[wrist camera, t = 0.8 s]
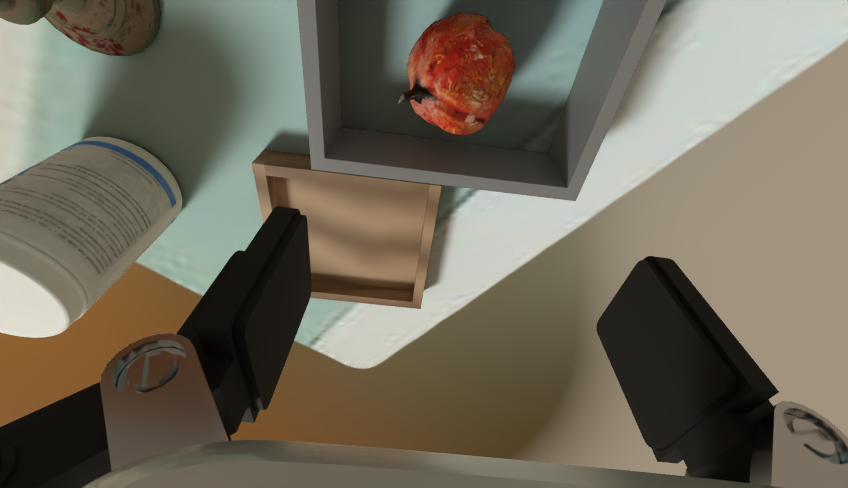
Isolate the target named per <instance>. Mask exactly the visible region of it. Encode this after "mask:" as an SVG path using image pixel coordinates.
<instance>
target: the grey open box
mask: <svg viewBox="0 0 848 488" xmlns="http://www.w3.org/2000/svg"><path fill="white" fill-rule="evenodd" d="M666 1H667V0H604V1H603V3H602V6H601V9H600V12H599V14H598V17H597V20H596V23H595V25H594V28H593V31H592V34H591V36H590V39H589V42H588V45H587V48H586V50H585V53H584V56H583V59H582V61H581V64H580V67H579V70H578V72H577V75H576V78H575V81H574V83H573V86H572V89H571V92H570V95H569V97H568V100H567V103H566V106H565V108H564V111H563V114H562V117H561V119H560V122H559V125H558V128H557V130H556V133H555V136H554V139H553V142H552V144H551V147H550V150H549V153H540V152H532V151H524V150H516V149H508V148H500V147H493V146H485V145H477V144H469V143H461V142H453V141H445V140H438V139H430V138H422V137H414V136H406V135H398V134H390V133H382V132H375V131H367V130H359V129H351V128H343V127H342V120H341V80H340V40H339V0H297V6H298V18H299V30H300V41H301V53H302V65H303V76H304V88H305V100H306V112H307V123H308V135H309V147H310V158H311V169H313V170H322V171H330V172H338V173H347V174H355V175H363V176H371V177H380V178H388V179H396V180H405V181H413V182H421V183H430V184H438V185H446V186H455V187H463V188H471V189H480V190H488V191H496V192H504V193H513V194H521V195H529V196H538V197H546V198H554V199H563V200H571V201H576V199H577V197H578V195H579V192H580V190H581V188H582V186H583V184H584V181H585V179H586V177H587V175H588V173H589V170H590V168H591V166H592V164H593V162H594V159H595V157H596V155H597V153H598V151H599V148H600V146H601V144H602V142H603V139H604V137H605V135H606V133H607V131H608V128H609V126H610V124H611V122H612V120H613V117H614V115H615V113H616V111H617V109H618V106H619V104H620V102H621V100H622V98H623V95H624V93H625V91H626V89H627V87H628V84H629V82H630V80H631V78H632V76H633V73H634V71H635V69H636V67H637V65H638V62H639V60H640V58H641V56H642V54H643V51H644V49H645V47H646V45H647V43H648V40H649V38H650V36H651V34H652V32H653V29H654V27H655V25H656V23H657V21H658V18H659V16H660V14H661V12H662V9H663V7H664V5H665V3H666Z"/></svg>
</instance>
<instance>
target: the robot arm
mask: <svg viewBox="0 0 848 488" xmlns="http://www.w3.org/2000/svg"><path fill="white" fill-rule="evenodd" d="M311 291H312V281H311V267H310V253H309V238H308V224H307V217H306V215H301V214H300V211H299V209H296V208H289V207H281V206H276V207H275V208H274V209H273V210H272V212H271V213H270V215H269V216H268V218H267V219H266V221H265V222H264V224H263V225H262V227H261V228H260V230H259V231H258V233H257V234H256V236H255V237H254V238H253V240H252V241H251V243H250V244H249V246H248V247H247V249H246V250H245V251H237V252H235V253H234V254H233V255H232V256H231V258H230V259H229V261H228V262H227V263H226V265H225V266H224V268H223V269H222V271H221V272H220V273H219V275H218V276H217V278H216V279H215V280H214V282H213V283H212V285H211V286H210V287H209V289H208V290H207V292H206V293H205V294H204V296H203V297H202V299H201V300H200V302H199V303H198V305H197V306H196V307H195V309H194V310H193V312H192V313H191V315H190V316H189V317H188V318H187V320H186V321H185V323H184V324H183V326H182V327H181V328H180V330H179V331H178V333H177V334H172V333H167V334H156V335H152V336H148V337H144V338H142V339H140V340H137V341H135V342H133V343H131V344H129V345H128V346H126V347H125V348H123V349H122V350H121V351H119V352H118V353H117V354H116V355H115V356H114V357H113V358H112V359H111V360H110V361H109V362H108V363H107V365H106V367H105V369H104V370H103V372H102V374H101V381H100V382H99V383H97V384H94V385H93V386H90V387H88V388H86V389H83V390H81V391H79V392H77V393H75V394H73V395H70V396H68V397H66V398H64V399H61V400H59V401H57V402H55V403H53V404H50V405H48V406H46V407H44V408H42V409H39V410H37V411H35V412H33V413H30V414H28V415H26V416H24V417H22V418H19V419H17V420H15V421H13V422H11V423H9V424H6V425H4V426H2V427H0V488H848V438H847V437H846V436H845V435H844V434H843V433H842V432H841V431H840V430H839V429H838V428H837V427H836V426H835V425H833V424H832V423H831V422H830V421H828V420H827V419H826V418H824V417H823V416H821V415H820V414H818V413H817V412H815V411H814V410H812V409H810V408H807V407H805V406H803V405H801V404H798V403H794V402H785V401H782V402H780V403H778V404H776V405H775V406H773V405H772V404H771V403H770V402H769V400H768V399H769V398H771V397H772V396H774V395H775V394H777V393H778V392H779V391H778V390H777V389H776V388H775V386H774V385H773V384H772V383H771V381H770V380H769V379H768V378H767V376H766V375H765V374H764V373H763V372H762V370H761V369H760V368H759V366H758V365H757V364H756V363H755V361H754V360H753V359H752V358H751V356H750V355H749V354H748V353H747V351H746V350H745V349H744V348H743V346H742V345H741V344H740V343H739V341H738V340H737V339H736V338H735V337H734V335H733V334H732V333H731V332H730V330H729V329H728V328H727V327H726V325H725V324H724V323H723V322H722V320H721V319H720V318H719V317H718V315H717V314H716V313H715V312H714V310H713V309H712V308H711V307H710V306H709V304H708V303H707V302H706V300H705V299H704V298H703V297H702V295H701V294H700V293H699V292H698V290H697V289H696V288H695V287H694V286H693V284H692V283H691V282H690V280H689V279H688V278H687V277H686V276H685V274H684V273H683V272H682V270H681V269H680V268H679V267H678V265H677V264H676V263H675V262H674V261H673V260H671V259H668V258H660V257H653V256H648V257H646V258H644V259H643V260H641V261H639V262H638V263H637V264H636V266H635V267H634V268H633V270H632V271H631V273H630V274H629V276H628V277H627V279H626V280H625V282H624V283H623V285H622V286H621V288H620V289H619V291H618V292H617V294H616V295H615V297H614V298H613V300H612V301H611V303H610V304H609V305H608V307H607V308H606V310H605V311H604V313H603V314H602V316H601V317H600V319H599V320H598V323H597V332H598V335H599V337H600V340H601V342H602V344H603V347H604V349H605V351H606V354H607V356H608V358H609V360H610V363H611V365H612V367H613V370H614V372H615V374H616V377H617V379H618V381H619V383H620V386H621V388H622V390H623V393H624V395H625V397H626V399H627V402H628V404H629V406H630V408H631V411H632V413H633V415H634V418H635V420H636V422H637V425H638V427H639V429H640V432H641V434H642V436H643V438H644V440H645V442H646V444H647V445H648V446H649V447H651V448H652V450H653V452H654V455H655V457H656V459H657V461H658V462H669V463H679V462H680V461H682V460H684V462H685V464H686V466H687V469H686V473H685V476H676V475H665V474H655V473H646V472H636V471H625V470H616V469H605V468H595V467H584V466H573V465H563V464H552V463H542V462H531V461H520V460H509V459H498V458H488V457H478V456H466V455H455V454H444V453H443V454H442V453H431V452H421V451H410V450H398V449H387V448H376V447H365V446H352V445H338V444H323V443H309V442H295V441H269V440H239V441H232V438H231V435H232V434H234V433H235V432H237V430H238V428H239V425H240V423H241V421H242V422H253V423H254V422H255V420H256V417H257V415H258V412H259V410H260V409H262V410H266V409H267V407H268V405H269V403H270V401H271V398H272V396H273V393H274V391H275V388H276V385H277V383H278V380H279V378H280V375H281V372H282V370H283V367H284V364H285V362H286V359H287V357H288V354H289V352H290V349H291V346H292V344H293V341H294V339H295V336H296V333H297V331H298V328H299V326H300V323H301V320H302V318H303V315H304V313H305V310H306V307H307V305H308V302H309V300H310V296H311Z"/></svg>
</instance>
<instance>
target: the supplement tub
mask: <svg viewBox="0 0 848 488" xmlns="http://www.w3.org/2000/svg"><path fill="white" fill-rule="evenodd" d="M181 208H182V195H181V191H180V188H179V186H178V184H177V182H176V180H175V178H174V177H173V175H172V174H171V172H170V171H169V170H168V169H167V168H166V166H165V165H164V164H163V163H162V162H160V161H159V160H158V159H157V158H156V157H154V156H153V155H152V154H150V153H149V152H147V151H145V150H144V149H142V148H140V147H138V146H136V145H134V144H132V143H129V142H127V141H124V140H120V139H116V138H111V137H90V138H86V139H83V140H81V141H79V142H77V143H75V144H73V145H71V146H69V147H67V148H65V149H63V150H61V151H60V152H58V153H56V154H54V155H52V156H51V157H49V158H47V159H45V160H43V161H41V162H40V163H38V164H36V165H34V166H32V167H30V168H28V169H26V170H25V171H23V172H21V173H19V174H17V175H15V176H13V177H12V178H10V179H8V180H6V181H4V182H2V183H1V184H0V332H1V333H6V334H10V335H16V336H23V337H48V336H53V335H56V334H59V333H61V332H63V331H64V330H65V329H66V328H68V327H69V326H70V325H71V324H72V323H73V322H74V321H75V320H77V319H78V318H80V317H81V316H83V314H84V313H85V312H86V311H87V310H88V309H89V308H90V307H91V306H92V305H93V304H94V303H95V302H96V301H97V300H98V299H99V298H100V297H101V296H102V295H103V294H104V293H105V292H106V291H107V290H108V289H109V288H110V287H111V286H112V285H113V284H114V283H115V282H116V280H118V279H119V277H120V276H121V275H122V274H123V273H124V272H125V271H126V270H127V269H128V268H129V267H130V266H131V265H132V264H133V263H134V262H135V261H136V260H137V259H138V258H139V257H140V256H141V255H142V253H143V252H144V251H145V250H146V249H147V248H148V247H149V246H150V245H151V244H152V243H153V242H154V241H155V240H156V239H157V238H158V237H159V236H160V235H161V234H162V233H163V232H164V231H165V229H166V228H167V227H168V226H169V225H170V224H171V223H172V222H173V221H174V220H175V219H176V218H177V216H178V215H179V213H180V211H181Z"/></svg>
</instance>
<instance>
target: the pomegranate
mask: <svg viewBox="0 0 848 488" xmlns="http://www.w3.org/2000/svg"><path fill="white" fill-rule="evenodd" d="M514 68H515V62H514V57H513V53H512V49H511V46H510V43H509V41H508V39H507V38H506V37H505V36H504V35H502V34H501V33H499V32H498V31H497V30H495V29H493V28H492V27H491V26H490V22H489V20H488V19H487V18H486V17H484V16H481V15H478V14H468V13H459V14H456V15H453V16H450V17H448V18H446V19H445V20H443V19H442V20H439V21H435V22H433V23H432V24H431V25H430V26H429V27H428V28H427V29H426V30H425V31H424V32H423V34H422V35H421V37H420V38H419V39H418V41H417V42H416V43H415V45H414V47H413V48H412V50H411V52H410V55H409V61H408V64H407V74H408V78H409V82H410V91H408V92H405V93H404V94H403V95H401V96H400V99H399V102H398V104H399V103H400V102H403V101H406V100H410V102H411V105H412V107H413V109H414V111H415V112H416V113H417V114H418V115H420V116H421V117H422V118H423V119H424V120H425V121H427V122H429V123H431V124H433V125H435V126H439V127H440V128H441V129H443V130H444V131H446V132H449V133H452V134H456V135H469V134H473V133H475V132H477V131H478V130H480V129H482V128H483V127H484V125H485V124H486V123H487V122H488V120H489V118H490V117H491V115H492V114H493V113H494V112H495V111H496V109H497V108H498V107H499V105H500V104H501V102H502V100H503V98H504V96H505V94H506V92H507V90H508V88H509V85H510V83H511V78H512V75H513V71H514Z"/></svg>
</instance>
